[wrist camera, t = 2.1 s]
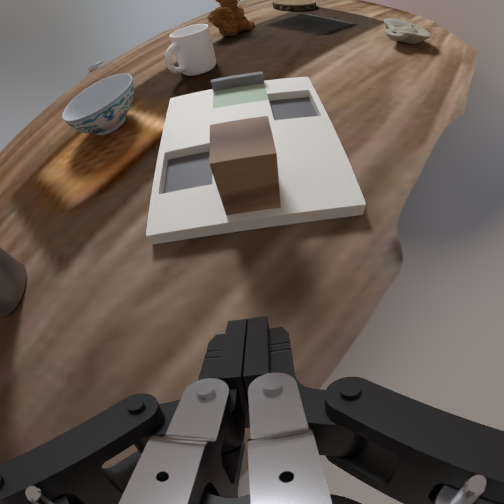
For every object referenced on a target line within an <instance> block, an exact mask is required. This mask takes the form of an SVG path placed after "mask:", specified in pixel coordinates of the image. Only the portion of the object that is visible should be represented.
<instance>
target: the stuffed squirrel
mask: <svg viewBox="0 0 504 504" xmlns="http://www.w3.org/2000/svg"><path fill="white" fill-rule="evenodd" d="M216 1H217V2H219V3H220V5H221V7H218V8H216V9H215V10H214V11H212V12H211V13H210V15H208V18H207V19H209V21H208V22H212V23H213V24H214V25H215V26H216V27H218V28H219V31H220V33H221V34H222V35H224V36H236V35H237V33H238V32H243V31H246V30H249V29H251V28H252V27H253V26H254V23H253V22H252V21H248V20H247V18H246V17H244V10H243V8H242V7H237V2H238V1H237V0H216ZM239 1H240V0H239Z"/></svg>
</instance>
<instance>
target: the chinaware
mask: <svg viewBox="0 0 504 504" xmlns="http://www.w3.org/2000/svg"><path fill="white" fill-rule="evenodd" d="M133 95H134V85H133V79H132V76H131V75H129V74H117V75H113V76H110V77H107V78H105V79H102V80H100V81H98V82H96V83H94V84H93V85H91V86H89V87H88V88H86V89H85V90H84V91H82V92H81V93H80V94H78V95H77V96H76V97H75V98H74V99H73V100H72V101H71V102H70V103H69V104H68V105H67V107H66V108H65V110H64V112H63V116H62V117H63V120H64V121H65V122H66V123H67V124H68V125H69V126H71V127H72V128H74V129H76V130H78V131H80V132H83V133H97V134H98V135H106V134H109V133H111V132H113V131H115V130H116V129H118V128H119V127H120V126H121V125H122V124H123V123H124V121H125V119H126V114H127V112H128V110H129V108H130V106H131V104H132V100H133Z"/></svg>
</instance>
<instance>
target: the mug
mask: <svg viewBox="0 0 504 504" xmlns="http://www.w3.org/2000/svg"><path fill="white" fill-rule="evenodd" d="M170 38H171V42H172V44H171V45H170V46H169V48H168V49H167V51H166V54H165V62H166V65H167V68H168V69H169V70H170V71H171V72H173V73H181V72H182V73H183V74H184V75H188V76H194V75H199V74H203V73H206V72H208V71H210V70H211V69H213V68H214V67H215V65H216V58H215V53H214V49H213V45H212V40H211V36H210V31H209V27H208V25H207V24H196V25H191V26H187V27H184V28H181V29H178V30H176V31H174V32H173V33H171V34H170ZM173 51H175V55H176V58H177V61H178V64H179V67H175V66H174V65H173V63H172V53H173Z"/></svg>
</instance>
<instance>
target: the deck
mask: <svg viewBox="0 0 504 504" xmlns="http://www.w3.org/2000/svg"><path fill="white" fill-rule="evenodd" d="M263 83H264V84H265V88H266V92H267V95H268V99H269V100H264V101H256V102H249V103H242V104H236V105H230V106H224V107H219V108H213V91H218V90H223V89H229V88H235V87H241V86H248V85H255V84H263ZM211 84H212V88H213V89H210V90H205V91H200V92H195V93H191V94H186V95H182V96H178V97H174V98H170V102H169V106H168V111H167V115H166V119H165V124H164V129H163V133H162V138H161V143H160V148H159V153H158V158H157V164H156V170H155V175H154V181H153V187H152V194H151V201H150V208H149V215H148V222H147V231H146V237H147V238H148V239H149V241H150V242H151V243H152V245H154V244H160V243H166V242H173V241H179V240H185V239H192V238H198V237H205V236H211V235H218V234H225V233H232V232H238V231H245V230H252V229H259V228H266V227H274V226H281V225H288V224H296V223H303V222H311V221H318V220H326V219H334V218H342V217H350V216H358V215H363V213H364V210H365V207H366V203H365V200H364V197H363V195H362V192H361V190H360V187H359V185H358V182H357V180H356V177H355V175H354V172H353V170H352V168H351V165H350V163H349V160H348V158H347V156H346V154H345V151H344V149H343V147H342V145H341V142H340V140H339V138H338V136H337V134H336V131H335V129H334V127H333V125H332V123H331V121H330V119H329V117H328V115H327V113H326V111H325V109H324V107H323V105H322V103H321V101H320V99H319V97H318V95H317V93H316V91H315V89H314V87H313V86H312V84H311V82H310V80H309V78H308V77H297V78H286V79H276V80H267V81H264V78H263V72H255V73H248V74H241V75H235V76H229V77H223V78H218V79H212V80H211ZM262 116H268V118H269V123H270V127H271V131H272V135H273V140H274V144H275V149H276V153H277V164H278V177H279V189H280V202H281V208H273V209H266V210H259V211H252V212H245V213H239V214H232V215H226V213H225V210H224V207H223V204H222V201H221V198H220V195H219V192H218V189H217V186H216V183H215V180H214V177H213V173H212V170H211V167H210V164H209V148H210V125H213V124H218V123H224V122H229V121H235V120H242V119H248V118H255V117H262Z"/></svg>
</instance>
